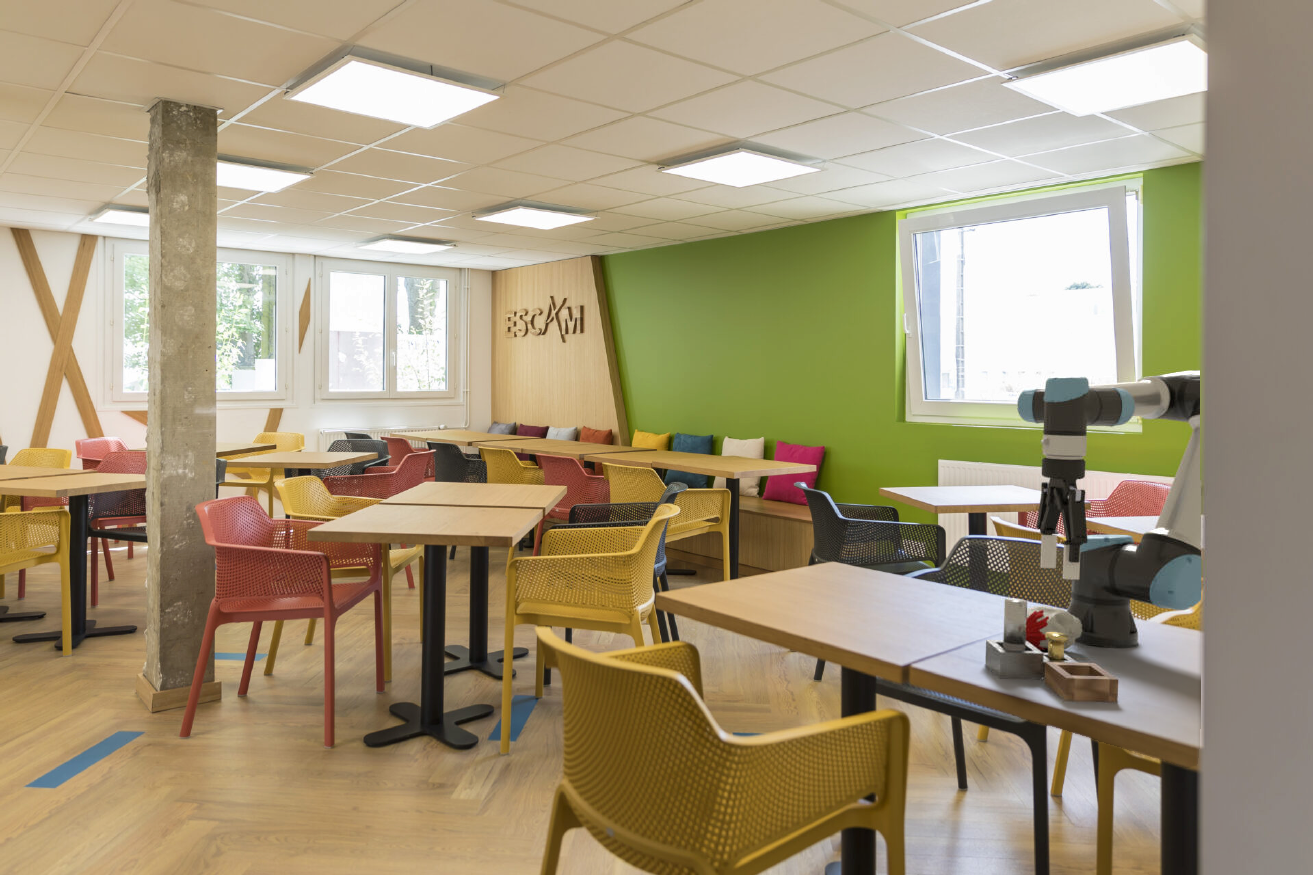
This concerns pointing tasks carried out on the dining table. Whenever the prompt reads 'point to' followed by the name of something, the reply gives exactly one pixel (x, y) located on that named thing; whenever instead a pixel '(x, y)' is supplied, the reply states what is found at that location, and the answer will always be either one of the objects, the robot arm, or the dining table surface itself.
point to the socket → (1018, 661)
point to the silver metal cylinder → (1015, 624)
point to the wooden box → (1081, 681)
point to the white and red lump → (1050, 625)
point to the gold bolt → (1056, 645)
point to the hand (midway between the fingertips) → (1059, 573)
